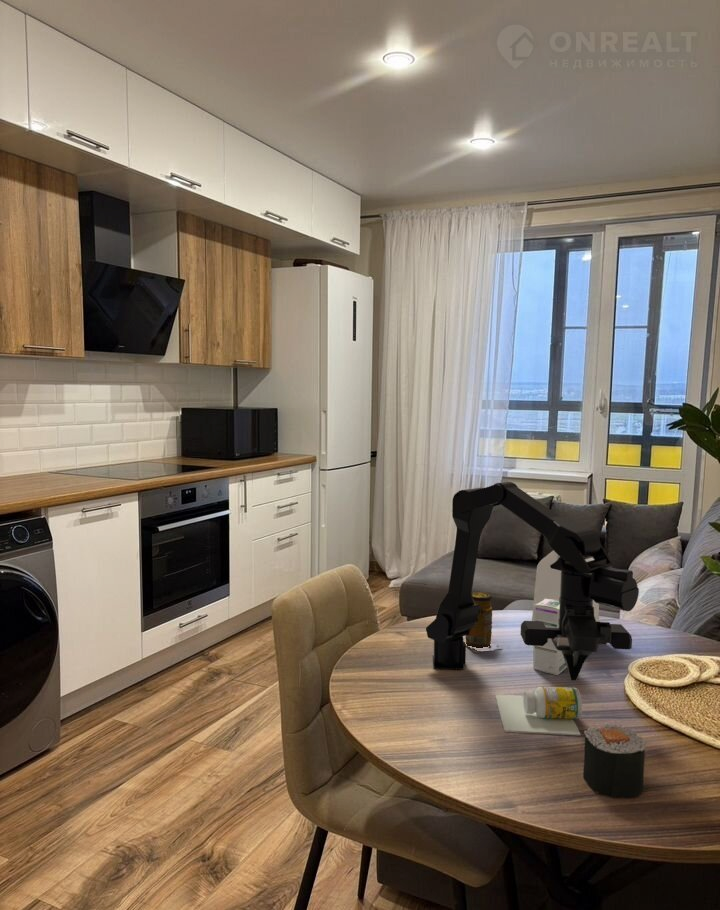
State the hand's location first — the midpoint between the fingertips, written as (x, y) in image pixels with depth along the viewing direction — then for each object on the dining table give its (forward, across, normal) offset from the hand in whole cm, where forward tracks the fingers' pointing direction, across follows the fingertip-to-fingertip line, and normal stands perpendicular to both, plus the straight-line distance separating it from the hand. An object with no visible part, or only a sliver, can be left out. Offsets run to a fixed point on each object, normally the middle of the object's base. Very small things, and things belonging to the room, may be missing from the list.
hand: (572, 679), depth 123 cm
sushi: (+7, +1, -21) cm, 22 cm away
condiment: (+7, -14, +34) cm, 37 cm away
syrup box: (+7, 0, +22) cm, 23 cm away
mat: (+7, -7, 0) cm, 10 cm away
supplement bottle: (+4, +1, -1) cm, 4 cm away
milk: (+7, +7, +40) cm, 41 cm away
